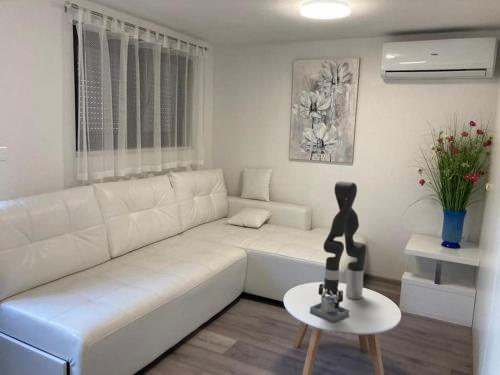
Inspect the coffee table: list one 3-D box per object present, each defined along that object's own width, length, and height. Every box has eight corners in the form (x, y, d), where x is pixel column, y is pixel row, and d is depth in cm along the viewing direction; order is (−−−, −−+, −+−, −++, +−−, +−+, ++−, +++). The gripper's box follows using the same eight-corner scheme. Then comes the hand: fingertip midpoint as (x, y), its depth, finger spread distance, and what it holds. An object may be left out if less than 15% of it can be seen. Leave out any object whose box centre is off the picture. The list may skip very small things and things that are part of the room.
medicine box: (325, 315, 213) (326, 300, 212) (320, 312, 217) (321, 296, 216) (337, 312, 217) (338, 297, 216) (332, 309, 221) (333, 294, 219)
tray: (325, 305, 227) (325, 300, 226) (348, 315, 216) (349, 310, 215) (309, 312, 218) (310, 306, 217) (333, 322, 206) (334, 317, 206)
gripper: (347, 279, 211) (345, 308, 213) (325, 271, 221) (323, 299, 224) (338, 282, 206) (336, 312, 208) (316, 274, 216) (314, 303, 219)
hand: (329, 305), depth 216 cm, fingers open, 8 cm apart
